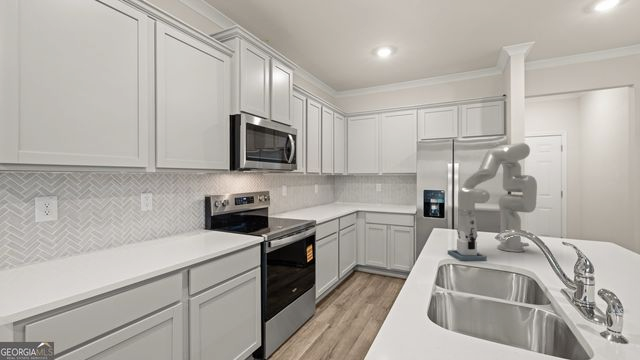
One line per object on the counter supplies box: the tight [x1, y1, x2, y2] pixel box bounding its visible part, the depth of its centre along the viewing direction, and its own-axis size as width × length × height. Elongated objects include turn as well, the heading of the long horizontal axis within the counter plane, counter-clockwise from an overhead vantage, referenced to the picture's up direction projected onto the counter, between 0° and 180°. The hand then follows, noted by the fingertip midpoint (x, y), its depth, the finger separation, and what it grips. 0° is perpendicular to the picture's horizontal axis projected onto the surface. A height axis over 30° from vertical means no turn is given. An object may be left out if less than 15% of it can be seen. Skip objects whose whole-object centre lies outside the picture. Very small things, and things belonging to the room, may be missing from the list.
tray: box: [447, 249, 488, 262], centre depth 142 cm, size 13×13×2 cm
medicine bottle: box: [456, 231, 478, 256], centre depth 142 cm, size 7×7×12 cm
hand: (466, 247), depth 142 cm, fingers closed on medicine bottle, 7 cm apart
